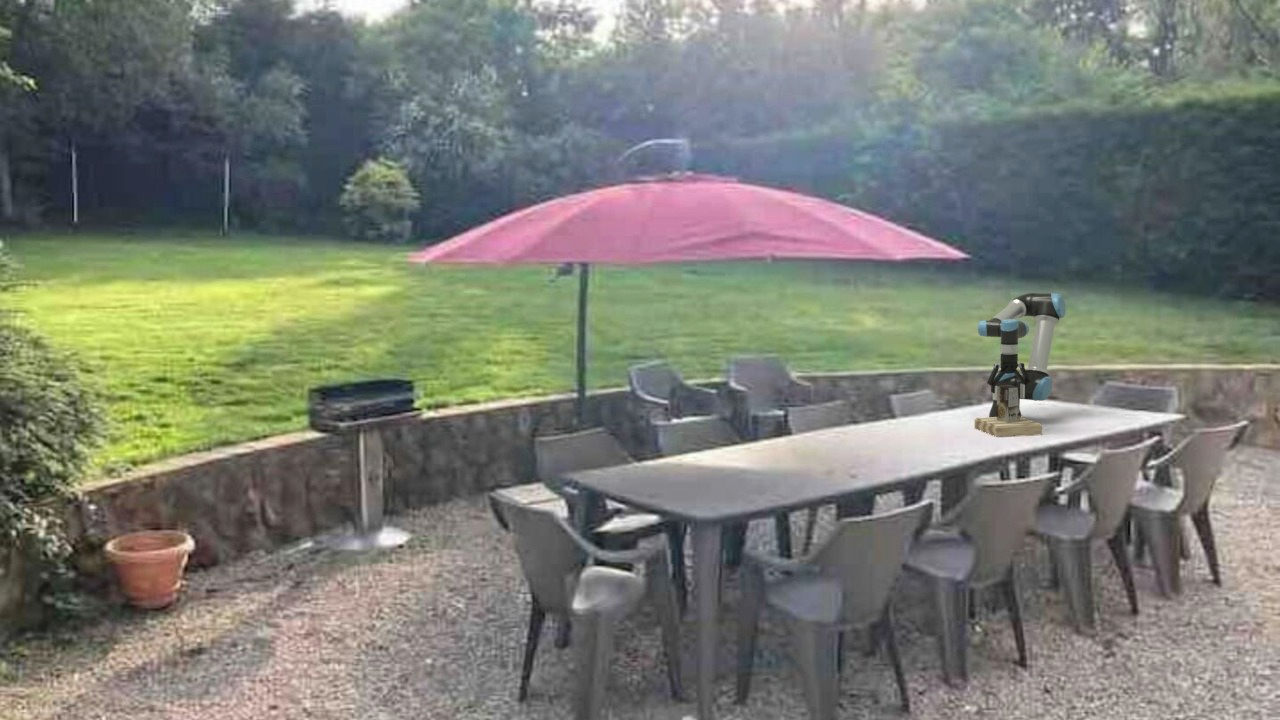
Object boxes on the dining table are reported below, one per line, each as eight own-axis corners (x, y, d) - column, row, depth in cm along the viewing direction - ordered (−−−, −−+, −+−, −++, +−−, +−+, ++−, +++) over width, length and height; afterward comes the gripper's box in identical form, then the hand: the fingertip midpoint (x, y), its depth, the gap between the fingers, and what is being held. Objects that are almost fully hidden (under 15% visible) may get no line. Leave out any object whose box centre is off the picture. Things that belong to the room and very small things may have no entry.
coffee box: (1020, 421, 507) (1020, 387, 505) (1007, 422, 505) (1008, 387, 503) (1007, 418, 516) (1008, 384, 514) (995, 419, 514) (996, 385, 512)
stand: (974, 428, 520) (974, 417, 519) (1018, 426, 523) (1018, 415, 523) (996, 437, 498) (996, 426, 498) (1041, 434, 502) (1042, 423, 501)
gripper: (987, 355, 501) (986, 401, 504) (1038, 352, 505) (1037, 398, 507) (979, 353, 508) (979, 399, 511) (1030, 350, 512) (1029, 396, 515)
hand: (1008, 399), depth 509 cm, fingers open, 13 cm apart
